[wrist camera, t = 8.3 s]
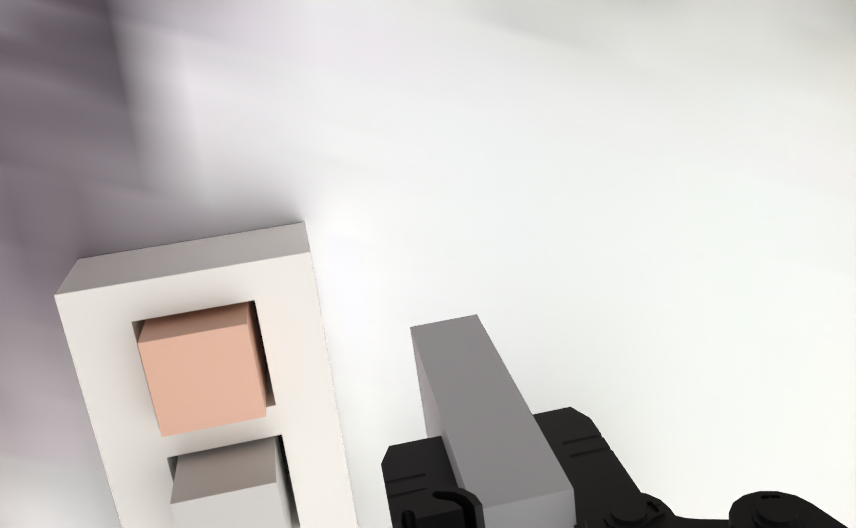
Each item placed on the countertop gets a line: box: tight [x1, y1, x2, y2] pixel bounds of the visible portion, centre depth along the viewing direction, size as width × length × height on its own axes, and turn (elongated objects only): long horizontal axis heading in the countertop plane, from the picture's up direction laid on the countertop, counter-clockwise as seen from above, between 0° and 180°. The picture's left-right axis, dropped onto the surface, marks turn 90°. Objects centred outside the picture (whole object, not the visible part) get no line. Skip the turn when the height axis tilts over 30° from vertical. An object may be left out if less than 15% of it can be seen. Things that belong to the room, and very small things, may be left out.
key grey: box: [170, 435, 292, 528], centre depth 39 cm, size 5×5×6 cm
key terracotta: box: [137, 300, 266, 437], centre depth 38 cm, size 5×5×6 cm
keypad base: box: [54, 222, 358, 528], centre depth 42 cm, size 11×23×5 cm, turn 7°
